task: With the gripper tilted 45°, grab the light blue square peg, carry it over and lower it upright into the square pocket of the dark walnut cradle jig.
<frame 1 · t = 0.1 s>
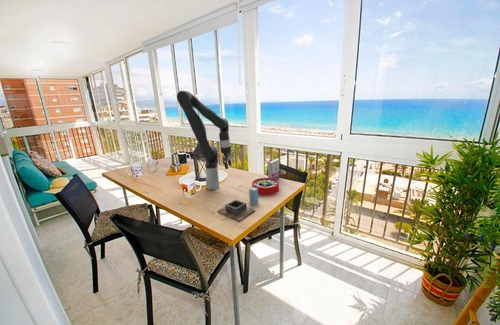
hand: (228, 167, 149), 17 cm above the table, tool pointing down, fingers open, 8 cm apart
cradle jig: (236, 211, 119), on the table
candy bar box: (273, 179, 168), on the table
toy clock: (265, 190, 149), on the table
light blue square peg: (254, 203, 128), on the table
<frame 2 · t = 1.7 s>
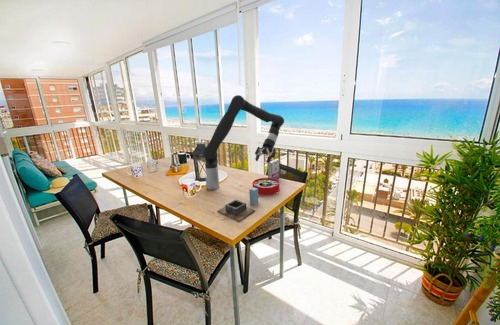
hand: (261, 161, 130), 26 cm above the table, tool tilted 45°, fingers open, 8 cm apart
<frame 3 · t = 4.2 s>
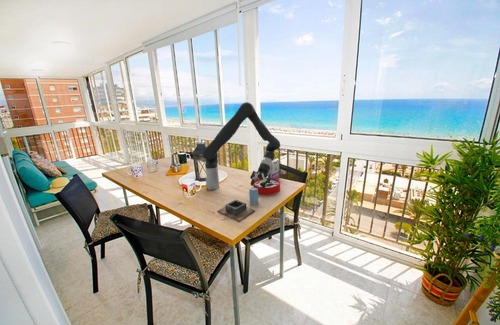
hand: (257, 186, 129), 10 cm above the table, tool tilted 45°, fingers open, 8 cm apart
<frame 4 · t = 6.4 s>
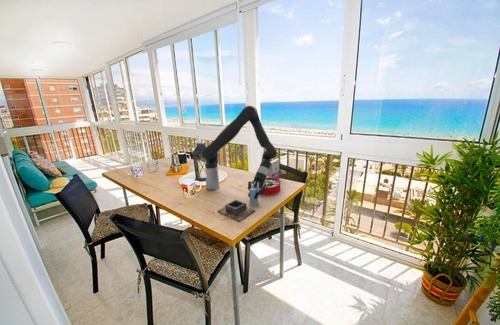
hand: (252, 197, 126), 5 cm above the table, tool tilted 45°, fingers closed on light blue square peg, 4 cm apart
light blue square peg: (254, 202, 128), on the table, touching gripper
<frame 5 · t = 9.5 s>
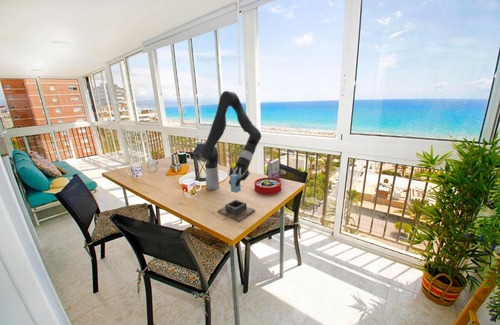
hand: (233, 184, 113), 18 cm above the table, tool tilted 45°, fingers closed on light blue square peg, 4 cm apart
light blue square peg: (235, 191, 116), point 13 cm above the table, touching gripper
when the fingers open (7 cm above the table, at t = 12.6 s): light blue square peg drops 1 cm, resting on cradle jig.
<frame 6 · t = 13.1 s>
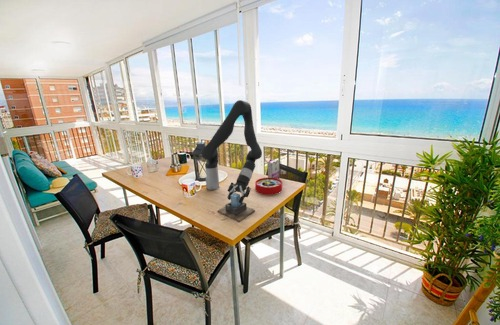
hand: (234, 201, 116), 8 cm above the table, tool tilted 45°, fingers open, 8 cm apart
light blue square peg: (236, 210, 118), point 1 cm above the table, touching cradle jig
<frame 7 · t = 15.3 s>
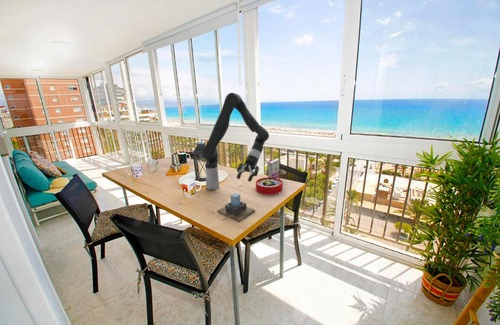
hand: (243, 179, 121), 18 cm above the table, tool tilted 45°, fingers open, 8 cm apart
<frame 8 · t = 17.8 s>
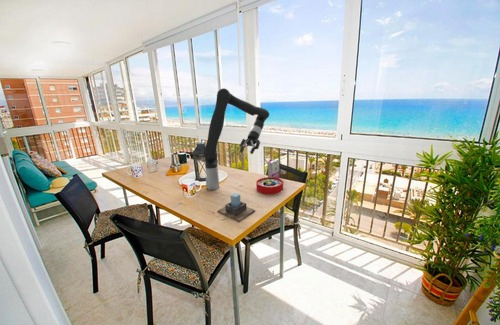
hand: (245, 152, 133), 31 cm above the table, tool tilted 45°, fingers open, 8 cm apart
at the end: light blue square peg 0.0 cm off-centre on the cradle jig, point 1.0 cm above the cradle jig's base; light blue square peg tilted 0°; the gripper is holding nothing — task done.
